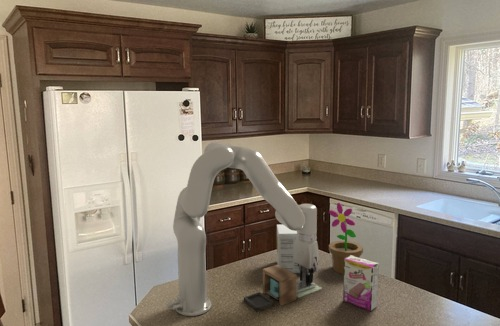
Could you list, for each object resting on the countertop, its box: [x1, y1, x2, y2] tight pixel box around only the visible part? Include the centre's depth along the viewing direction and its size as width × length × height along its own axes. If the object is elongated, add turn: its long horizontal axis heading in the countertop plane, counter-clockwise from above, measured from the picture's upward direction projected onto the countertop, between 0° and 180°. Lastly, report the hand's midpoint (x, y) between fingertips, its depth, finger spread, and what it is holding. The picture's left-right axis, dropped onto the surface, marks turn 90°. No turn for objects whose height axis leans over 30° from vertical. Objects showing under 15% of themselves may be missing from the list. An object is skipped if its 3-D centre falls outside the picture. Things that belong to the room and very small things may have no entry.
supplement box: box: [276, 224, 300, 274], centre depth 174 cm, size 13×13×18 cm
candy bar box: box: [342, 255, 380, 312], centre depth 142 cm, size 11×5×16 cm, turn 47°
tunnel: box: [262, 264, 298, 306], centre depth 149 cm, size 7×11×10 cm, turn 33°
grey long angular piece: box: [266, 266, 317, 301], centre depth 152 cm, size 19×6×8 cm, turn 123°
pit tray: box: [243, 291, 275, 312], centre depth 144 cm, size 7×9×2 cm
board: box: [297, 284, 323, 299], centre depth 155 cm, size 12×10×1 cm
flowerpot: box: [328, 202, 364, 275], centre depth 170 cm, size 14×14×30 cm
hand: (306, 281), depth 156 cm, fingers closed on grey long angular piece, 2 cm apart
